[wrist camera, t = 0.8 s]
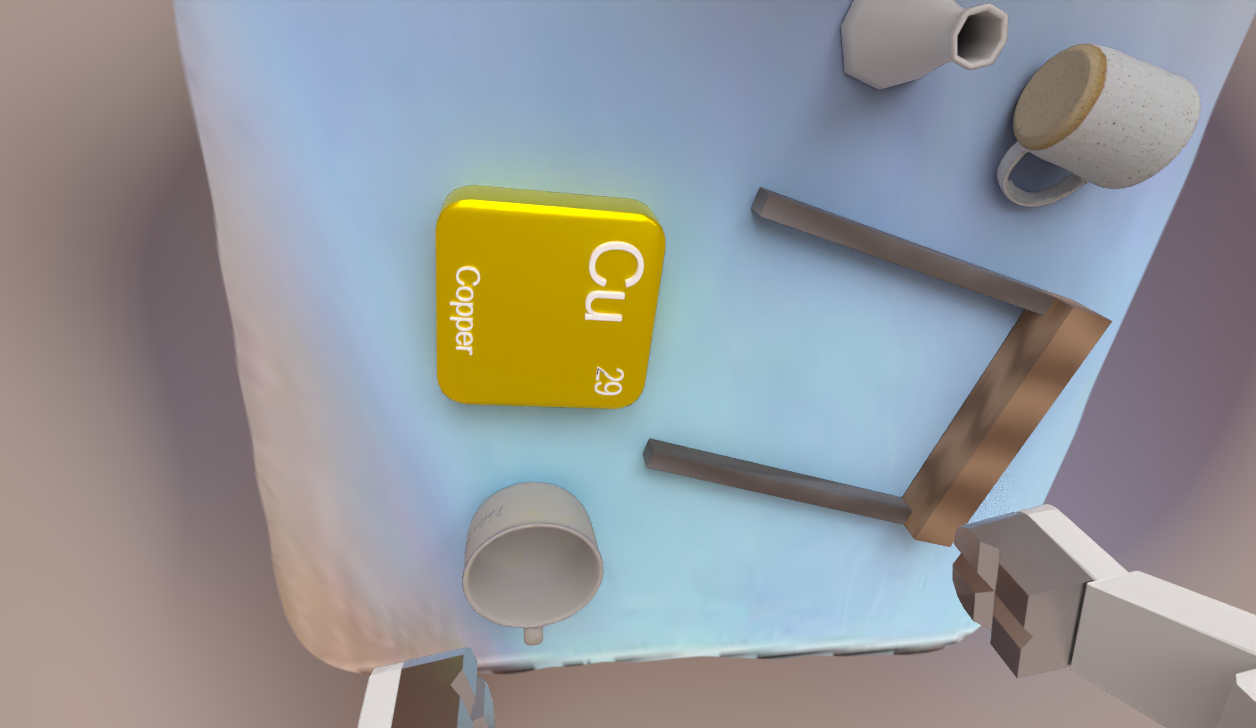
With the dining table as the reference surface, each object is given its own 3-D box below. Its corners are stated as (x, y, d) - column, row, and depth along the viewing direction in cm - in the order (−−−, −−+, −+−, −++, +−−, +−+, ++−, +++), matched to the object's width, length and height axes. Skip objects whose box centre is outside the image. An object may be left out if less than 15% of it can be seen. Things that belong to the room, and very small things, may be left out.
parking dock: (760, 187, 48) (778, 201, 45) (1075, 301, 56) (1112, 321, 53) (642, 453, 58) (650, 482, 54) (927, 518, 66) (949, 547, 62)
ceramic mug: (1044, 33, 46) (1131, 40, 39) (1134, 72, 48) (1232, 85, 41) (962, 183, 50) (1028, 213, 44) (1048, 213, 52) (1124, 246, 46)
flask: (925, 93, 47) (1018, 114, 38) (826, 85, 46) (898, 105, 37) (957, -27, 43) (1067, -35, 35) (852, -39, 42) (937, -50, 33)
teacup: (480, 455, 56) (473, 520, 49) (607, 472, 58) (618, 536, 51) (456, 579, 62) (447, 653, 55) (572, 589, 64) (578, 661, 57)
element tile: (441, 180, 45) (433, 198, 41) (659, 199, 48) (672, 218, 44) (442, 376, 52) (435, 408, 48) (633, 383, 55) (642, 415, 51)
